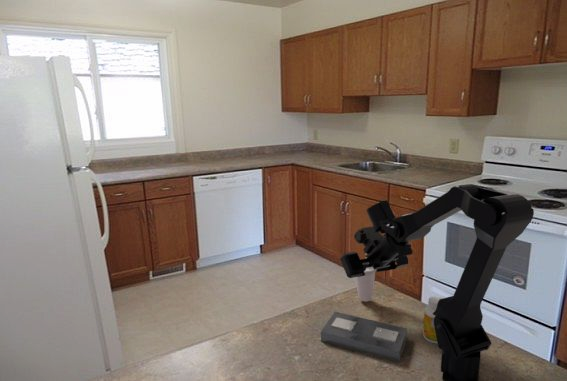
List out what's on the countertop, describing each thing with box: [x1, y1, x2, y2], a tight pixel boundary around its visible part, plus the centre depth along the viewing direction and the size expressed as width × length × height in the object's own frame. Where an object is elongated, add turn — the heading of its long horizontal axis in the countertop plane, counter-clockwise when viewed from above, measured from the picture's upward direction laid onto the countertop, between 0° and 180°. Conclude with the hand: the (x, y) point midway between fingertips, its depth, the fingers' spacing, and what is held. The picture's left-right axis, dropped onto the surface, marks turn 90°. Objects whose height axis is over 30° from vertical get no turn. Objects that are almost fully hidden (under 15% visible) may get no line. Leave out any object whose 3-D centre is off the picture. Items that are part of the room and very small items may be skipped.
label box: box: [320, 311, 408, 363], centre depth 89 cm, size 18×10×3 cm, turn 63°
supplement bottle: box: [422, 295, 444, 345], centre depth 89 cm, size 5×5×10 cm
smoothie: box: [355, 253, 377, 302], centre depth 105 cm, size 6×6×14 cm
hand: (361, 272), depth 107 cm, fingers closed on smoothie, 6 cm apart
